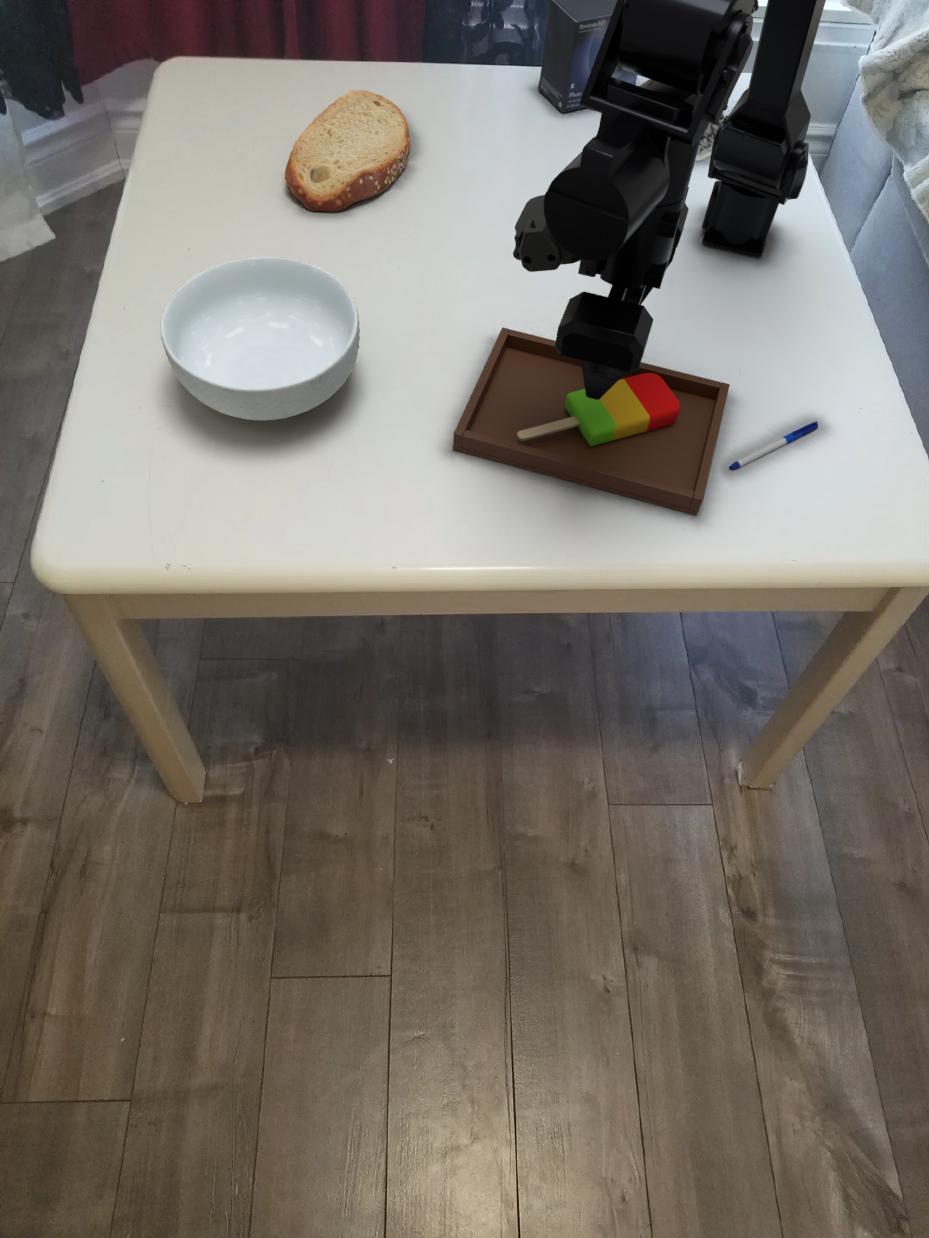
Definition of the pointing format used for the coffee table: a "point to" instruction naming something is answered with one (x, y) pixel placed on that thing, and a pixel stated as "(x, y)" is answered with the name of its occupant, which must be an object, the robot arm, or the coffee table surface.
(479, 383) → the tray
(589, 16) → the small box
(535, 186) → the coffee table surface
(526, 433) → the popsicle
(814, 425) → the ballpoint pen
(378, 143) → the bread slice
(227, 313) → the cereal bowl
